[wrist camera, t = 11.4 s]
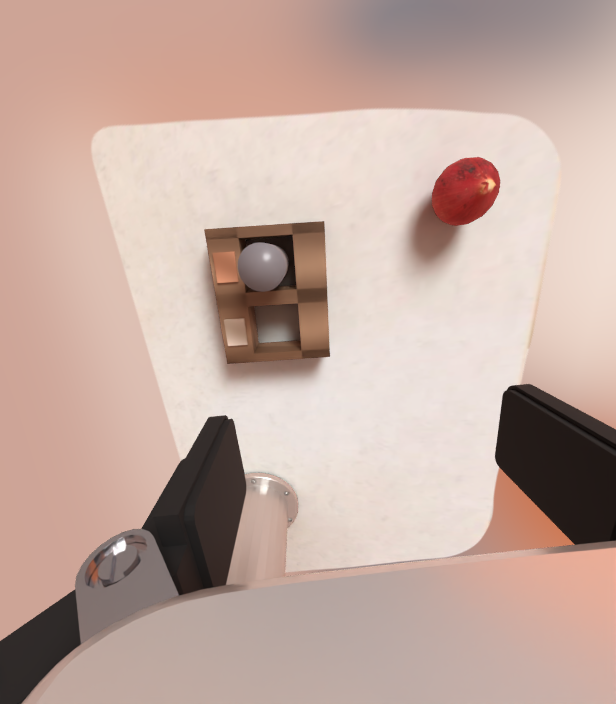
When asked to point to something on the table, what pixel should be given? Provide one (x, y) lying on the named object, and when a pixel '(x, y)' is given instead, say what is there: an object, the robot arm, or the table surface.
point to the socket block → (271, 293)
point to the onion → (465, 191)
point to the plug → (263, 266)
